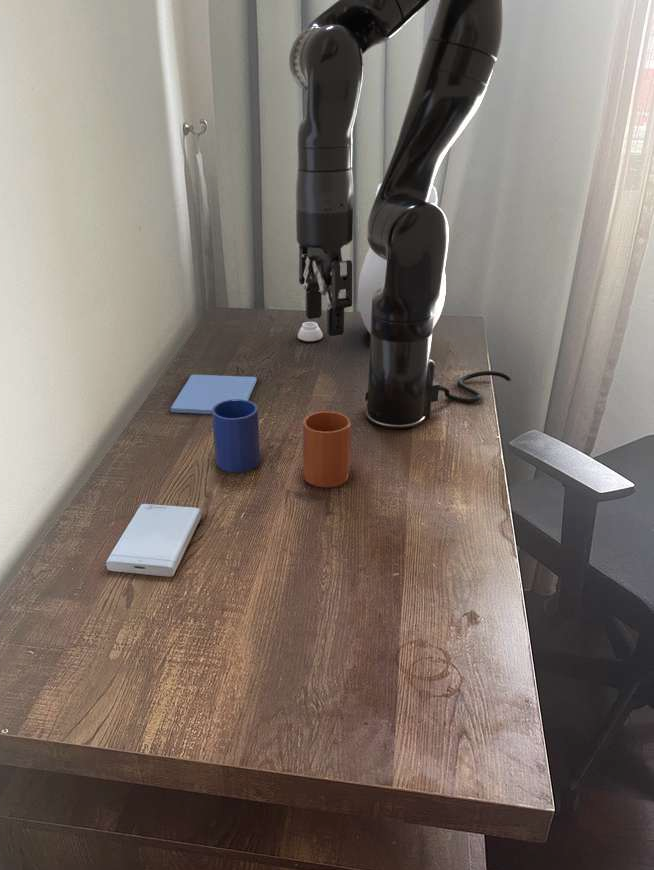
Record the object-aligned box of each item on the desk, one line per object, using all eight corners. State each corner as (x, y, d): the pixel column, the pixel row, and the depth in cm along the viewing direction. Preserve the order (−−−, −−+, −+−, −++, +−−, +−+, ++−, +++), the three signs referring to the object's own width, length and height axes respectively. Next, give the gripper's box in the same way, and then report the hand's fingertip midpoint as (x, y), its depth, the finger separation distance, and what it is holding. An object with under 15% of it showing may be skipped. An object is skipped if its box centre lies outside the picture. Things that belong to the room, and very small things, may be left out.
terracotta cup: (336, 460, 108) (337, 407, 103) (356, 481, 103) (358, 427, 98) (296, 469, 106) (295, 416, 101) (314, 491, 101) (314, 436, 96)
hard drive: (140, 502, 97) (105, 559, 86) (201, 507, 95) (172, 566, 85) (142, 513, 97) (107, 571, 87) (202, 518, 96) (173, 577, 86)
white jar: (293, 341, 148) (316, 344, 147) (293, 326, 147) (316, 330, 145) (303, 332, 152) (326, 335, 150) (303, 318, 151) (326, 321, 149)
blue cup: (250, 447, 112) (248, 396, 107) (266, 466, 107) (264, 413, 102) (210, 456, 110) (206, 404, 105) (224, 476, 105) (220, 422, 100)
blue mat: (191, 378, 134) (191, 374, 134) (256, 380, 132) (256, 376, 132) (170, 412, 123) (170, 408, 122) (241, 415, 121) (241, 411, 120)
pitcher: (358, 320, 158) (363, 180, 142) (439, 322, 155) (453, 180, 140) (352, 363, 138) (357, 206, 123) (444, 366, 136) (461, 207, 120)
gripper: (373, 212, 92) (368, 338, 101) (331, 195, 104) (330, 309, 112) (316, 217, 90) (317, 345, 99) (280, 199, 102) (283, 315, 110)
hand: (324, 326), depth 105 cm, fingers open, 8 cm apart
